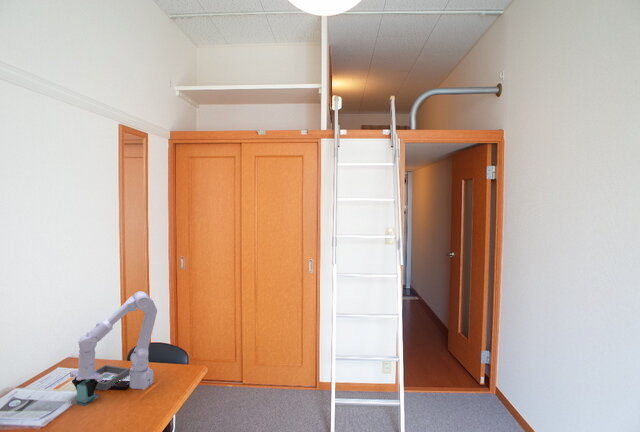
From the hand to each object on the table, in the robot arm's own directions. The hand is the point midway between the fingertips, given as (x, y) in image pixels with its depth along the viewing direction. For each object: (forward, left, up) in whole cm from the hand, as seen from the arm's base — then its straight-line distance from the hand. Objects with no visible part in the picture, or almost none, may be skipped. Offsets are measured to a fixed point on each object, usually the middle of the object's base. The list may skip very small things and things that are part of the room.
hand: (85, 394), depth 135 cm
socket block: (0, 0, -2) cm, 2 cm away
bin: (+4, -14, -3) cm, 15 cm away
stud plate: (0, 0, -3) cm, 3 cm away
